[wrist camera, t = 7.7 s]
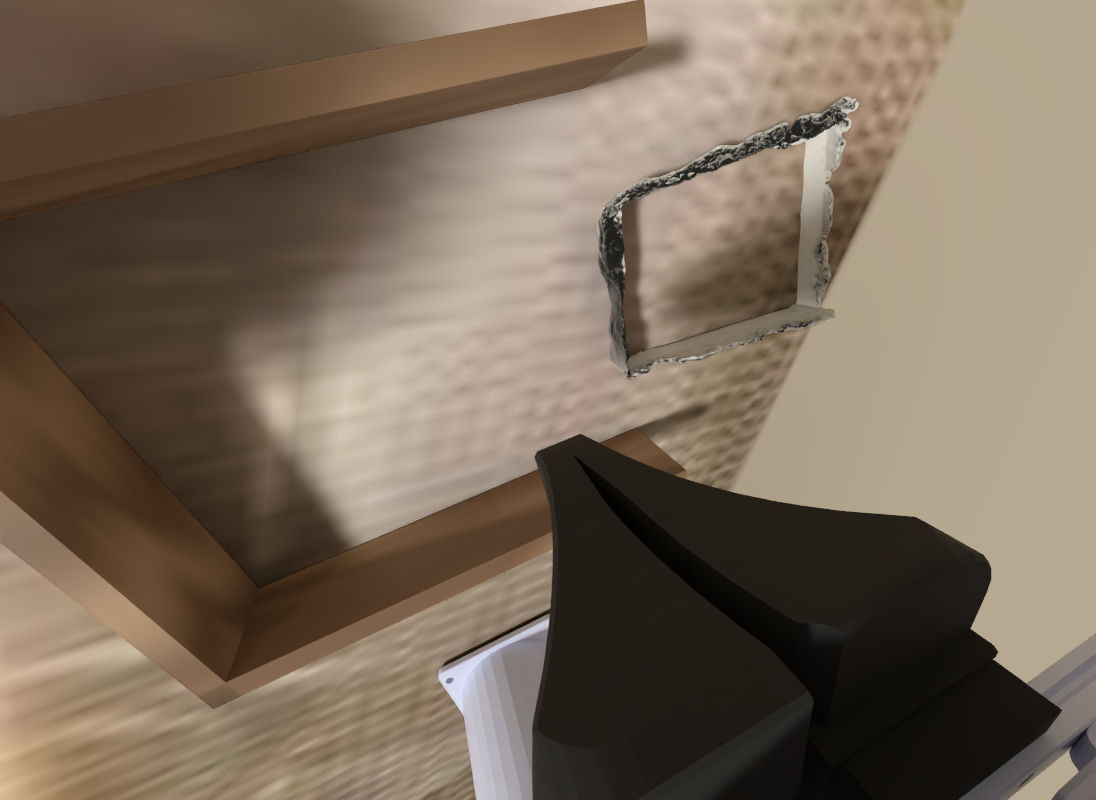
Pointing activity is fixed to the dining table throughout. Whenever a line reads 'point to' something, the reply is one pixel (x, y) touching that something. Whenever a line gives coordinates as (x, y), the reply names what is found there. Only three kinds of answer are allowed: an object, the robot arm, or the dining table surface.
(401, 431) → the dining table surface
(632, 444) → the walnut u-shaped frame
